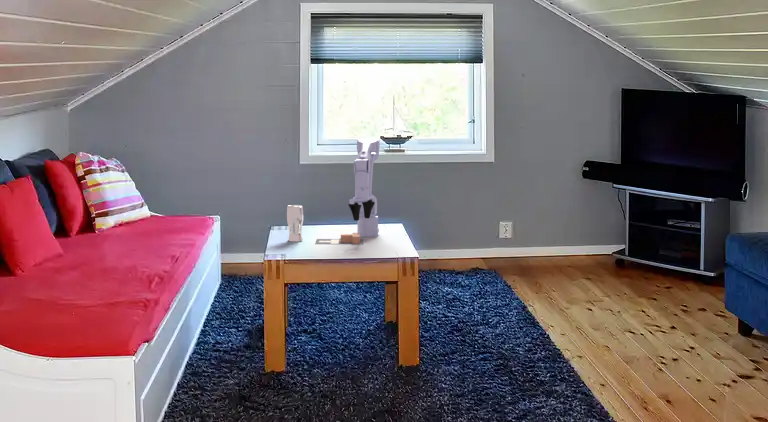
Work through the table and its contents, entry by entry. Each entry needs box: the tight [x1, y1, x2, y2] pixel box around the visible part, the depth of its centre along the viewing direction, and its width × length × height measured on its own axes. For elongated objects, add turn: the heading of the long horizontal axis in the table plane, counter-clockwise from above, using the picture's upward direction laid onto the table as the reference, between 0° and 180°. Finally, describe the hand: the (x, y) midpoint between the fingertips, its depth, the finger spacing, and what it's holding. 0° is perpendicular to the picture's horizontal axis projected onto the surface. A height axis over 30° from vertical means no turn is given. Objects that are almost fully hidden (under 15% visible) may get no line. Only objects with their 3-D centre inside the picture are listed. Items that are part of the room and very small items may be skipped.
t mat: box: [314, 238, 364, 245], centre depth 315 cm, size 20×12×1 cm, turn 92°
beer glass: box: [286, 204, 304, 243], centre depth 318 cm, size 7×7×15 cm
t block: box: [340, 232, 361, 245], centre depth 315 cm, size 8×9×3 cm
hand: (361, 219), depth 317 cm, fingers open, 7 cm apart
